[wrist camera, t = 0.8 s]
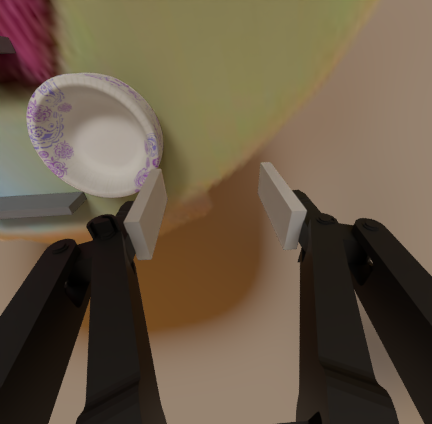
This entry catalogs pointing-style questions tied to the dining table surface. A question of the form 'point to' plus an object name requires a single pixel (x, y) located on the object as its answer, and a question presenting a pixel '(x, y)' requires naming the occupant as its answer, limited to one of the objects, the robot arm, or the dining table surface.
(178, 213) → the dining table surface
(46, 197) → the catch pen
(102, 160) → the paper bowls
